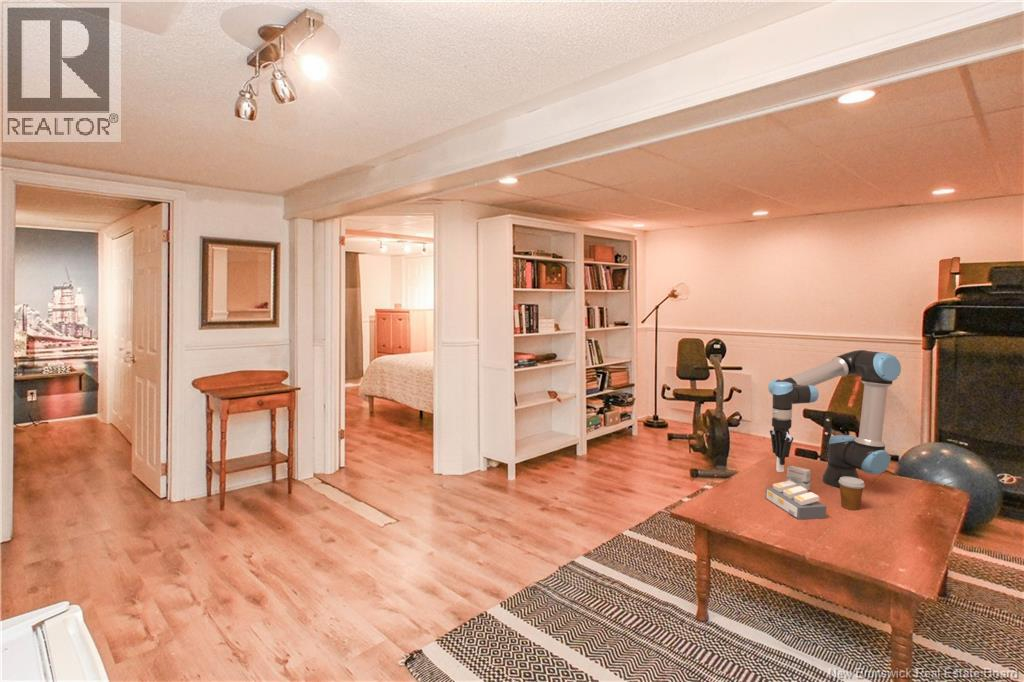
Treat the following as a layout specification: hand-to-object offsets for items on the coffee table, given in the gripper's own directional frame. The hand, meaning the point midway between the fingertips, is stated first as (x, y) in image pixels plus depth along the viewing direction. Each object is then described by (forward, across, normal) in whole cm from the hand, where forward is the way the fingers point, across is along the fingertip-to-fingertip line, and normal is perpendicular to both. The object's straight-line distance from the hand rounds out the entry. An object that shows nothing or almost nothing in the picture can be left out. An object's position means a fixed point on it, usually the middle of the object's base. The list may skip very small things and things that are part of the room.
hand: (780, 471), depth 231 cm
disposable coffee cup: (+15, +10, +26) cm, 31 cm away
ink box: (+14, -7, +14) cm, 21 cm away
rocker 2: (+7, +7, +2) cm, 10 cm away
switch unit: (+14, +7, +2) cm, 16 cm away
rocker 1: (+7, 0, +2) cm, 7 cm away
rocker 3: (+7, +14, +2) cm, 16 cm away
